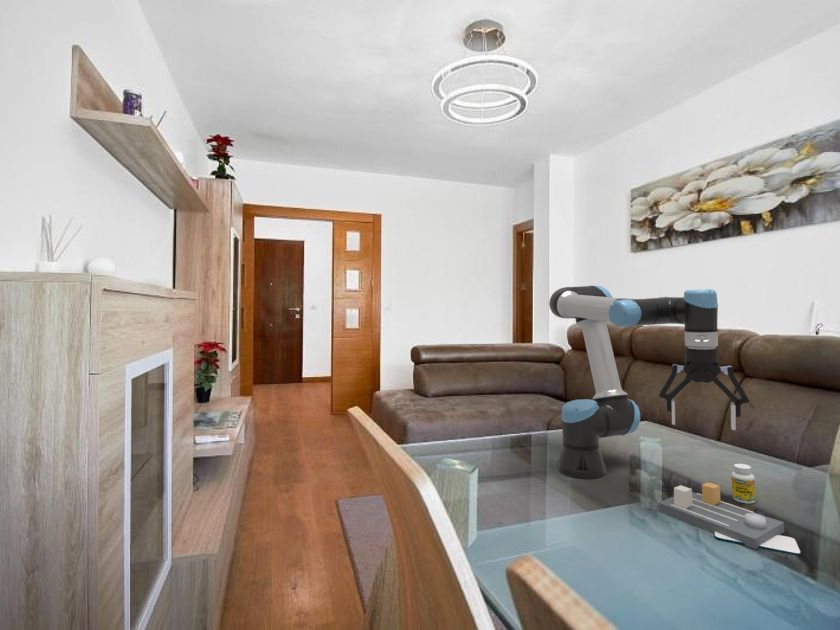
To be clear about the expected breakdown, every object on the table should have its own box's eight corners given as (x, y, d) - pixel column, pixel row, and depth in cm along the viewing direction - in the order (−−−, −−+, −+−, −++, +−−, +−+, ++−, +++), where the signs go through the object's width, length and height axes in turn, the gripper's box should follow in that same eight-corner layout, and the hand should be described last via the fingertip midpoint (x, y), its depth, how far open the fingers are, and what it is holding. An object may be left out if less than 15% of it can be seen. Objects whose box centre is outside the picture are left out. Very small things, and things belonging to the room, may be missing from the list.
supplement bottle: (754, 497, 127) (753, 464, 127) (757, 505, 122) (756, 470, 122) (731, 494, 129) (730, 461, 129) (733, 502, 125) (732, 468, 125)
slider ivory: (674, 504, 119) (673, 487, 119) (681, 501, 121) (680, 485, 121) (685, 508, 117) (685, 491, 116) (692, 505, 118) (691, 488, 118)
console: (658, 511, 122) (658, 495, 122) (688, 498, 128) (687, 483, 128) (755, 549, 101) (754, 530, 101) (784, 532, 108) (783, 514, 108)
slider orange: (702, 501, 120) (701, 484, 120) (708, 498, 122) (708, 482, 122) (714, 505, 118) (713, 488, 118) (720, 502, 119) (719, 485, 119)
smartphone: (794, 541, 105) (713, 526, 113) (794, 537, 105) (713, 522, 113) (802, 558, 98) (714, 541, 106) (802, 554, 98) (714, 537, 106)
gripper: (648, 348, 122) (649, 425, 123) (761, 350, 110) (762, 435, 111) (649, 345, 129) (651, 417, 130) (756, 346, 117) (757, 426, 118)
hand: (702, 426), depth 121 cm, fingers open, 13 cm apart
